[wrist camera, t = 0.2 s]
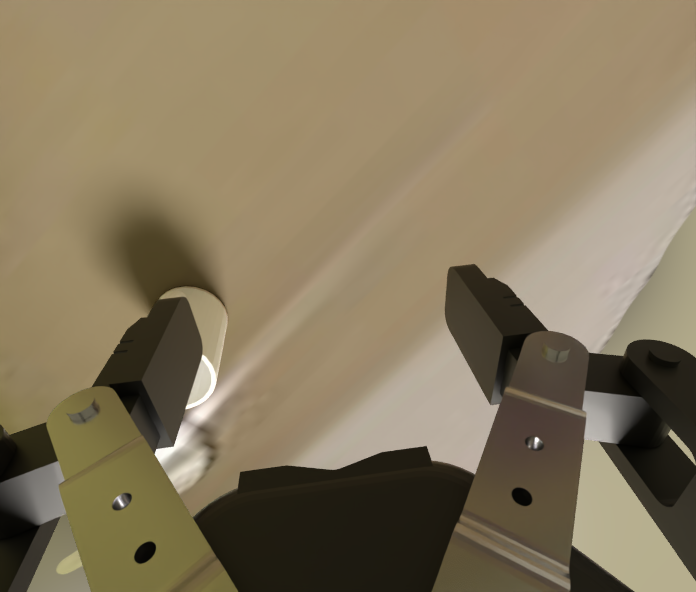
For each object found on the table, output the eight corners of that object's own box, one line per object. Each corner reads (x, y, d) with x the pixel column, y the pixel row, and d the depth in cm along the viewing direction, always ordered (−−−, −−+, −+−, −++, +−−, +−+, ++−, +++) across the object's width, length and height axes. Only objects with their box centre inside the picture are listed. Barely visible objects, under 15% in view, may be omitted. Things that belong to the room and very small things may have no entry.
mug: (236, 343, 48) (222, 407, 39) (160, 347, 47) (129, 413, 38) (224, 264, 42) (204, 318, 34) (137, 265, 41) (94, 321, 33)
